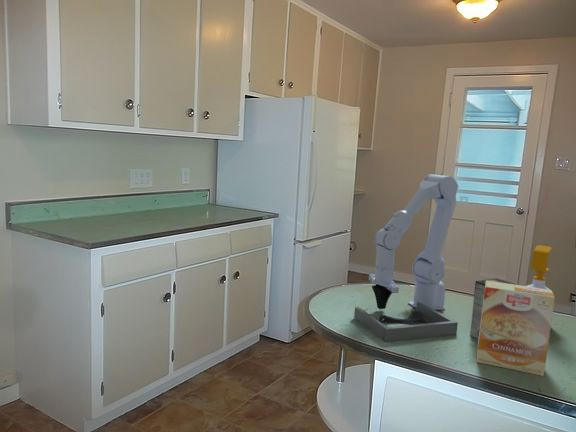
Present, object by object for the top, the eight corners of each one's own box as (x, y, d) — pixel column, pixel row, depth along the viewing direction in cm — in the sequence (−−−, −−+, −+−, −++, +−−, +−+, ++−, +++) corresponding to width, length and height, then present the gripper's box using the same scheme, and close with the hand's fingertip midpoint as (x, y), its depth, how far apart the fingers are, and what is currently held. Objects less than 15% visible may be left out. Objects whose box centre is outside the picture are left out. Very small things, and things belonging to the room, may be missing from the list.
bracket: (371, 315, 144) (372, 307, 144) (416, 315, 146) (417, 307, 146) (387, 334, 130) (388, 324, 130) (436, 333, 132) (437, 324, 132)
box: (419, 312, 147) (420, 302, 147) (456, 334, 131) (457, 322, 130) (354, 318, 139) (355, 307, 139) (385, 341, 123) (386, 329, 122)
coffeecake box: (476, 362, 113) (484, 286, 110) (476, 351, 119) (485, 279, 117) (544, 377, 107) (555, 296, 104) (541, 364, 113) (552, 288, 111)
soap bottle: (553, 324, 142) (564, 247, 139) (545, 332, 136) (556, 251, 132) (522, 316, 148) (531, 242, 145) (513, 323, 142) (523, 245, 138)
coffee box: (490, 330, 135) (497, 277, 132) (510, 338, 129) (516, 283, 127) (468, 334, 130) (475, 280, 128) (487, 343, 125) (494, 286, 123)
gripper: (362, 261, 150) (359, 301, 152) (386, 273, 137) (382, 317, 139) (380, 261, 153) (377, 300, 154) (406, 272, 139) (402, 315, 141)
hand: (381, 308), depth 147 cm, fingers closed
